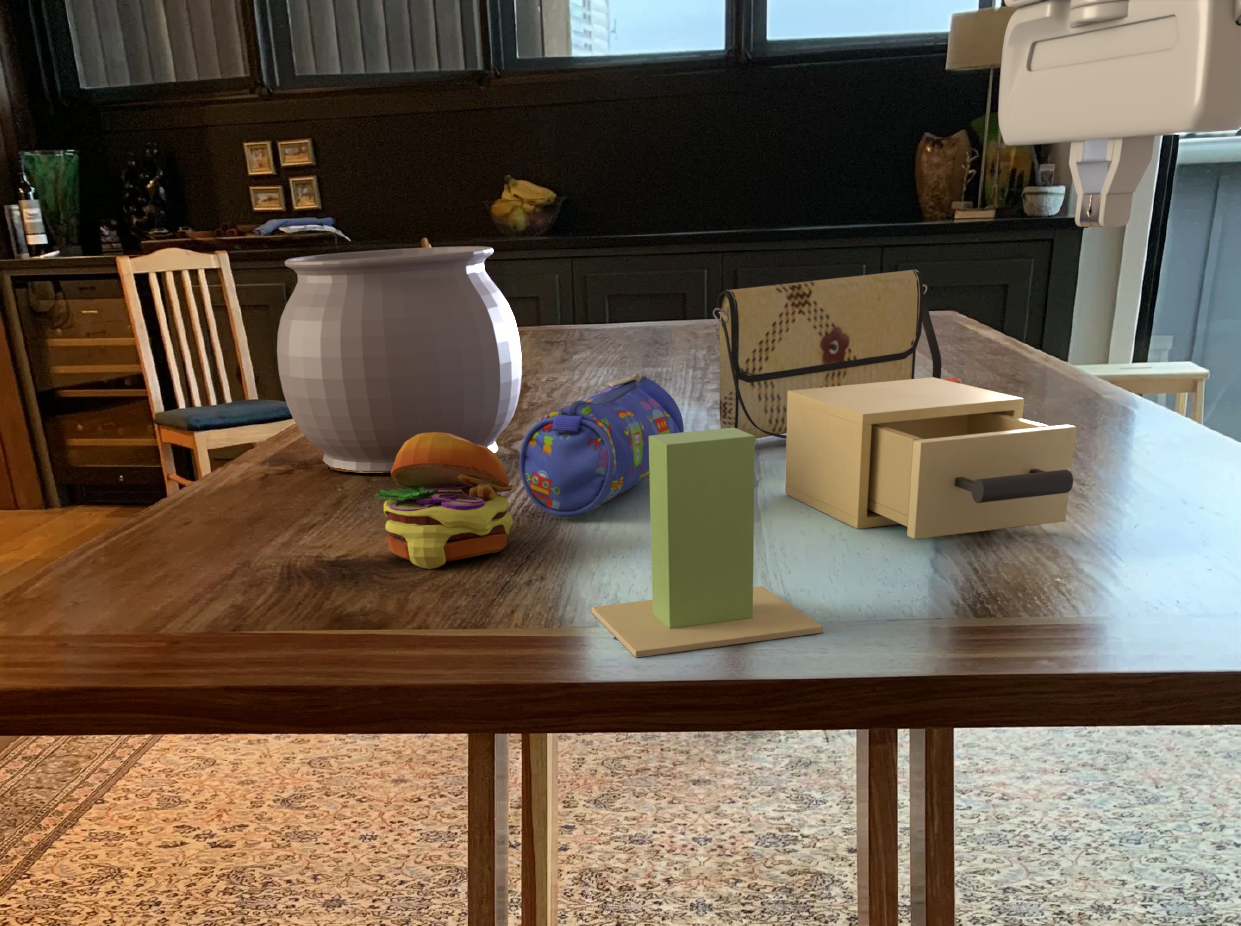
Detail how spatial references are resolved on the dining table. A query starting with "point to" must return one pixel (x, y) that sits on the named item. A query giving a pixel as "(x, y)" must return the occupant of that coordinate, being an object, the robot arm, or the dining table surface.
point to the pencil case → (595, 446)
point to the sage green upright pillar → (702, 526)
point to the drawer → (970, 473)
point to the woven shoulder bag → (816, 342)
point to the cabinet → (864, 436)
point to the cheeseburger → (446, 501)
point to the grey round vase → (397, 352)
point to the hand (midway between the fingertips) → (1101, 226)
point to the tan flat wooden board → (703, 626)
